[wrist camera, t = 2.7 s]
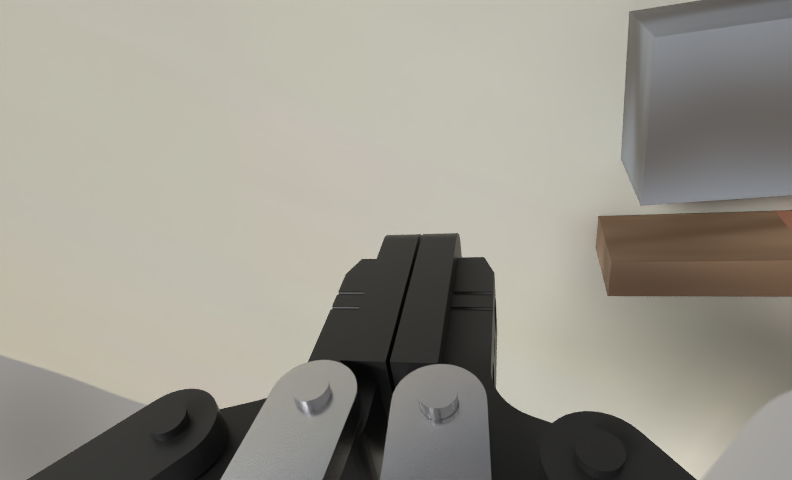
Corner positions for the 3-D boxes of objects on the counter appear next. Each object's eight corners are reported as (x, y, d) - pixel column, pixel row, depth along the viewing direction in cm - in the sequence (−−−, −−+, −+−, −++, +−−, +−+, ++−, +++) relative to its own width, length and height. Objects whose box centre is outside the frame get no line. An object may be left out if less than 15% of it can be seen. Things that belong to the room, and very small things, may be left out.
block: (628, 10, 16) (655, 37, 13) (816, -20, 14) (892, 3, 12) (620, 156, 18) (640, 205, 16) (778, 142, 17) (832, 192, 14)
